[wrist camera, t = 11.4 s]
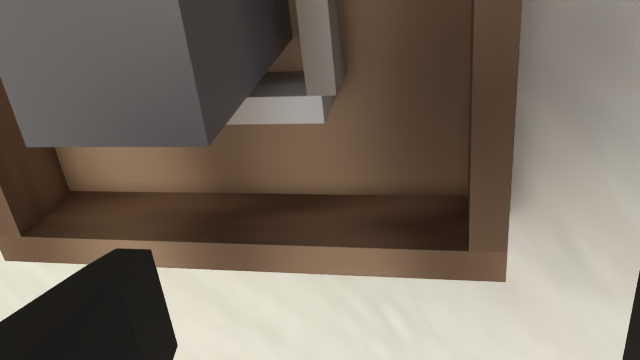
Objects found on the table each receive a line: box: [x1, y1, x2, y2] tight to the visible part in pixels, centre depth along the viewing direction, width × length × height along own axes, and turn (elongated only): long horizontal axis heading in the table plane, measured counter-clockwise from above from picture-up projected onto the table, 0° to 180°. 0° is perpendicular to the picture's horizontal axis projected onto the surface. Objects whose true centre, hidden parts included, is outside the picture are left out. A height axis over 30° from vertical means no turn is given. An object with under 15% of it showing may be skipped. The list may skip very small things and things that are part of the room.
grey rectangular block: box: [0, 0, 293, 147], centre depth 14 cm, size 4×4×7 cm
